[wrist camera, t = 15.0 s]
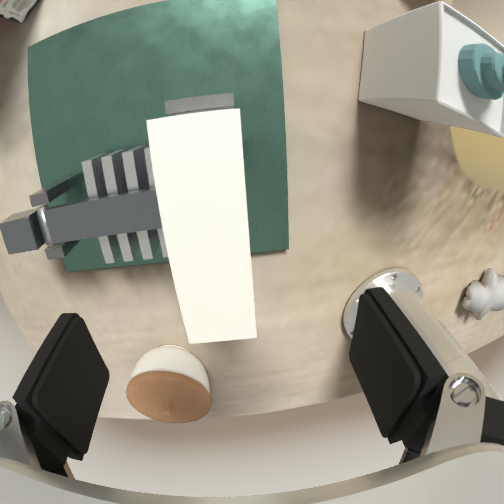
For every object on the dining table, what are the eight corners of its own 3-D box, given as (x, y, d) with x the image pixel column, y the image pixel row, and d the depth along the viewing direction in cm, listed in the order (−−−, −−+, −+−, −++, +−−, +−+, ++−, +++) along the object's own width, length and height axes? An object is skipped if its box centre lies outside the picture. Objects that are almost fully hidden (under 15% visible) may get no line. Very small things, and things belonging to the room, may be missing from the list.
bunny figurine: (482, 281, 34) (531, 273, 33) (466, 265, 39) (516, 259, 38) (464, 328, 38) (514, 315, 38) (451, 311, 43) (502, 300, 42)
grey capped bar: (240, 216, 23) (242, 227, 21) (22, 245, 22) (9, 257, 20) (236, 171, 22) (238, 178, 19) (11, 211, 20) (-3, 220, 18)
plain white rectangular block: (247, 283, 22) (256, 337, 17) (195, 288, 22) (189, 343, 17) (233, 110, 17) (240, 108, 11) (169, 118, 16) (146, 120, 11)
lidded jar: (222, 345, 38) (224, 402, 30) (196, 388, 42) (195, 439, 34) (145, 321, 35) (130, 377, 27) (130, 369, 39) (119, 419, 31)
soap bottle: (421, 121, 27) (561, 159, 10) (357, 100, 26) (508, 113, 9) (428, 55, 23) (563, 54, 6) (364, 29, 22) (501, -16, 5)
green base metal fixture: (286, 245, 32) (314, 305, 22) (69, 267, 31) (28, 324, 21) (273, -4, 20) (301, -56, 10) (32, 48, 18) (-31, 38, 9)
